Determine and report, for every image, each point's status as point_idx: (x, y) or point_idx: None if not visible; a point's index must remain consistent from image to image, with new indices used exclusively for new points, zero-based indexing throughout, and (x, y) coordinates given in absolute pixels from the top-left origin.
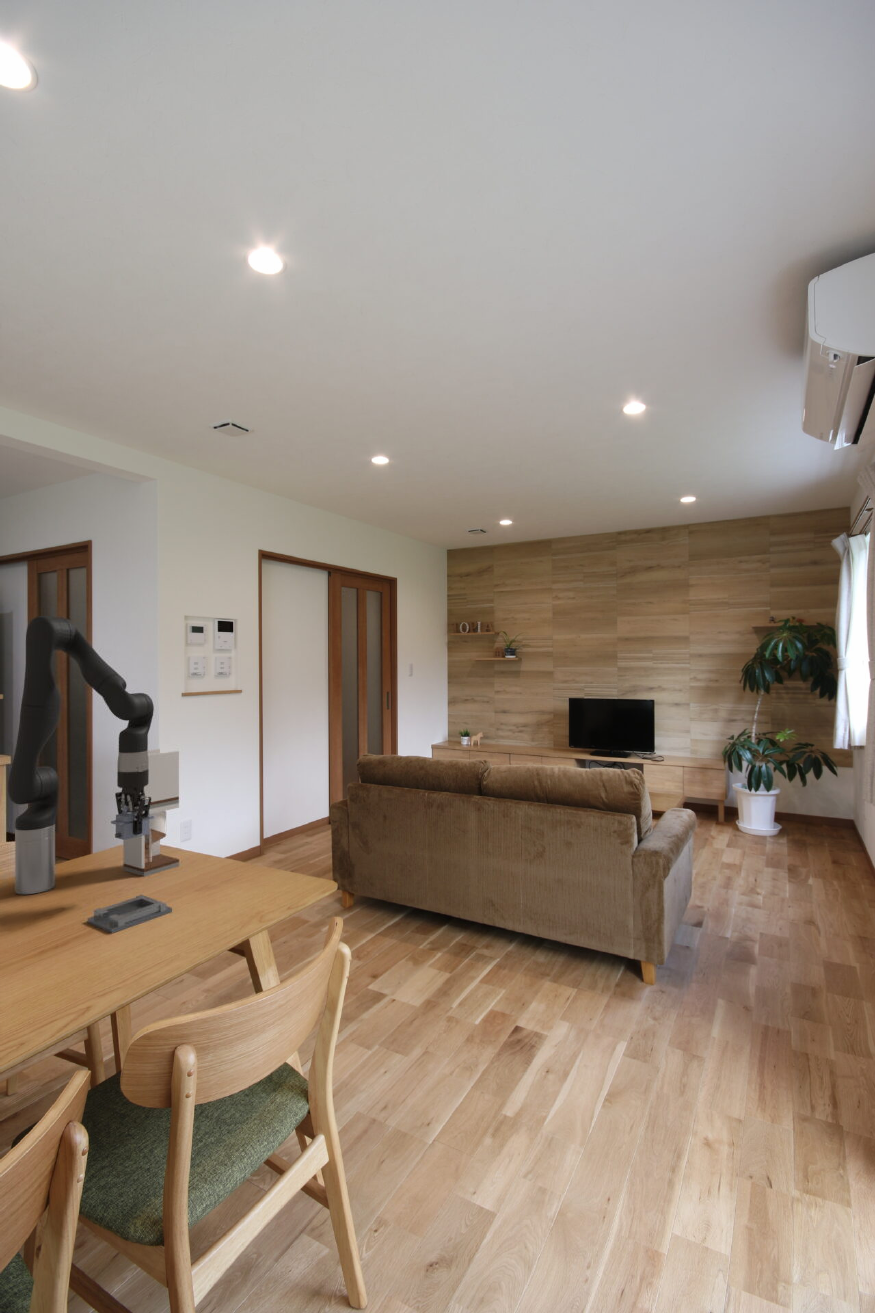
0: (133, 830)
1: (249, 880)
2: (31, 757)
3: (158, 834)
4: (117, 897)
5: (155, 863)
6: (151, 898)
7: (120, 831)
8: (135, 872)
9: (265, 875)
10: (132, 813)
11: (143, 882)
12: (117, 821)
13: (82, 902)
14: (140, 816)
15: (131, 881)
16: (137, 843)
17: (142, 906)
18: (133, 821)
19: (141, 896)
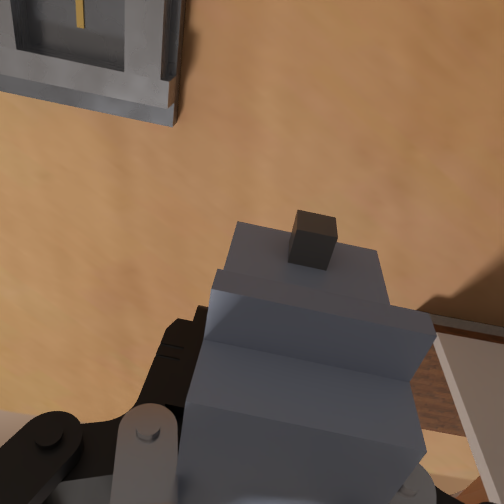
0: (203, 330)
1: (73, 364)
2: None
3: (465, 494)
4: (344, 121)
5: (425, 378)
6: (88, 91)
7: (293, 275)
8: (471, 324)
9: (72, 397)
10: (174, 499)
11: None
12: (323, 344)
13: (462, 7)
14: (9, 451)
15: (426, 265)
16: (502, 420)
17: (109, 52)
18: (181, 402)
19: (147, 92)
